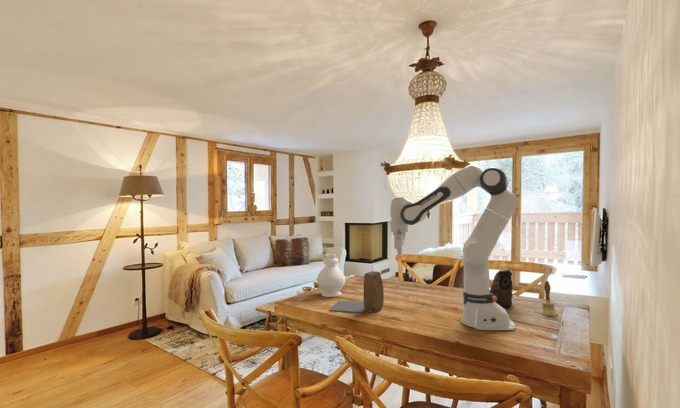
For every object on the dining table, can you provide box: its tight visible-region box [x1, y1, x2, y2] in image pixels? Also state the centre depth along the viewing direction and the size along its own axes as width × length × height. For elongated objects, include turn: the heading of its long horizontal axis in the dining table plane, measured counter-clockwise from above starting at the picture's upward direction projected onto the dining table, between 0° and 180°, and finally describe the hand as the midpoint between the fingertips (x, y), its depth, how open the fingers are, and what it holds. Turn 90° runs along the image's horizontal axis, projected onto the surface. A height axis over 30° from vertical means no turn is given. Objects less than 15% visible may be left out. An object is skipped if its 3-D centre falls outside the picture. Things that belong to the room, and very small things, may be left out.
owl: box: [490, 266, 513, 310], centre depth 183 cm, size 13×13×20 cm
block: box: [363, 270, 385, 313], centre depth 181 cm, size 11×8×20 cm
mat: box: [328, 300, 366, 314], centre depth 187 cm, size 18×18×1 cm
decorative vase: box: [316, 253, 346, 298], centre depth 215 cm, size 18×18×25 cm
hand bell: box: [538, 280, 559, 317], centre depth 169 cm, size 8×8×16 cm
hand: (399, 255), depth 178 cm, fingers closed
